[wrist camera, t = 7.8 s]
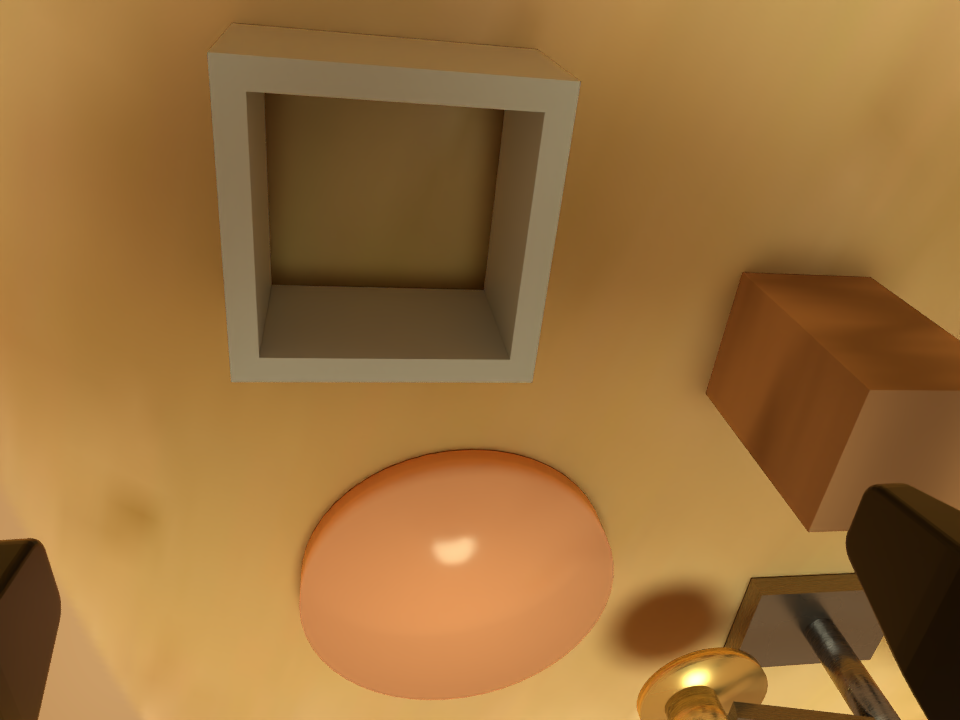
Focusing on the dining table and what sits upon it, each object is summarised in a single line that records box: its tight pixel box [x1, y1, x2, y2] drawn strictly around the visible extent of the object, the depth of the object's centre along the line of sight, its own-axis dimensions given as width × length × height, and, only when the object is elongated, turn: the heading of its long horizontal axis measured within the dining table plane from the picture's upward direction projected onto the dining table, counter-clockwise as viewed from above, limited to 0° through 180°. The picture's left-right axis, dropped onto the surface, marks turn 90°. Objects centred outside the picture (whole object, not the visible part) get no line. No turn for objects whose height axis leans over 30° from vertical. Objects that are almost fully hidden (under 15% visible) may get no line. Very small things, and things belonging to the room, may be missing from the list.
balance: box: [637, 574, 901, 720], centre depth 27 cm, size 16×4×6 cm, turn 84°
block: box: [706, 272, 960, 532], centre depth 20 cm, size 4×4×6 cm
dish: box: [299, 450, 613, 700], centre depth 25 cm, size 10×10×1 cm
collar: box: [207, 23, 581, 383], centre depth 17 cm, size 7×7×4 cm
